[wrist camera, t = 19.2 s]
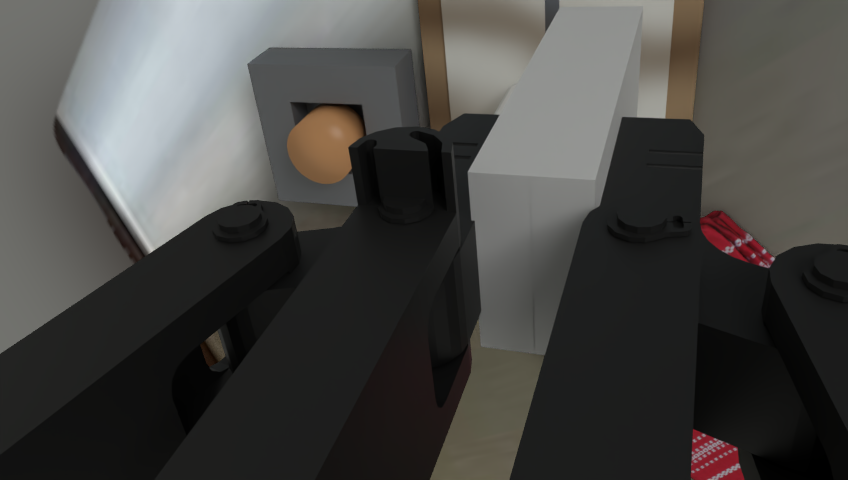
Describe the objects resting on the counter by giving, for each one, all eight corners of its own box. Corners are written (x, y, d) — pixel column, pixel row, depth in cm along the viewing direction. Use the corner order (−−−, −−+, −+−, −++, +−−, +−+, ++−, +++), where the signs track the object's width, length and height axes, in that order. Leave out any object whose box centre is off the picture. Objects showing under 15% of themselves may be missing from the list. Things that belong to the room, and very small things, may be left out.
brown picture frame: (403, -179, 41) (396, -177, 40) (724, -207, 36) (724, -205, 35) (438, 177, 52) (434, 185, 51) (685, 193, 47) (684, 202, 46)
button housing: (269, 47, 51) (247, 63, 48) (410, 49, 48) (394, 66, 45) (297, 179, 56) (279, 200, 54) (426, 189, 53) (412, 211, 51)
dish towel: (712, 191, 47) (711, 213, 45) (954, 425, 51) (964, 455, 49) (525, 321, 58) (518, 344, 55) (738, 508, 61) (739, 536, 59)
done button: (301, 100, 50) (280, 119, 47) (363, 102, 48) (345, 122, 46) (313, 160, 52) (294, 181, 50) (373, 164, 51) (356, 186, 48)
